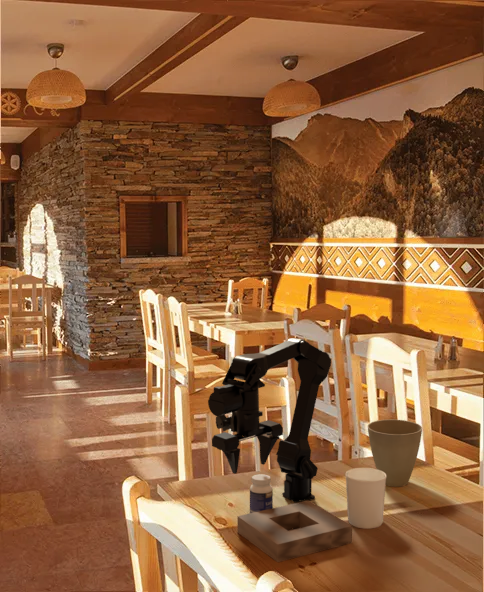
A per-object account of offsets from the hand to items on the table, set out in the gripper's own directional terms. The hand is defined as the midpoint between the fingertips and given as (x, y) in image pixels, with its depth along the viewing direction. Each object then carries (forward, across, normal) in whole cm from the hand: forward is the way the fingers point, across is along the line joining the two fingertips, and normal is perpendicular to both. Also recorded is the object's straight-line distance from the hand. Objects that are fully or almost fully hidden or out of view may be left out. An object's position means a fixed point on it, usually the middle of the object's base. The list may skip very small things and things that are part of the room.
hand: (248, 468), depth 194 cm
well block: (+12, +1, +17) cm, 21 cm away
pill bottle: (+12, -2, +2) cm, 13 cm away
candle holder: (+13, -18, +22) cm, 31 cm away
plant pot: (+14, -46, +8) cm, 48 cm away
